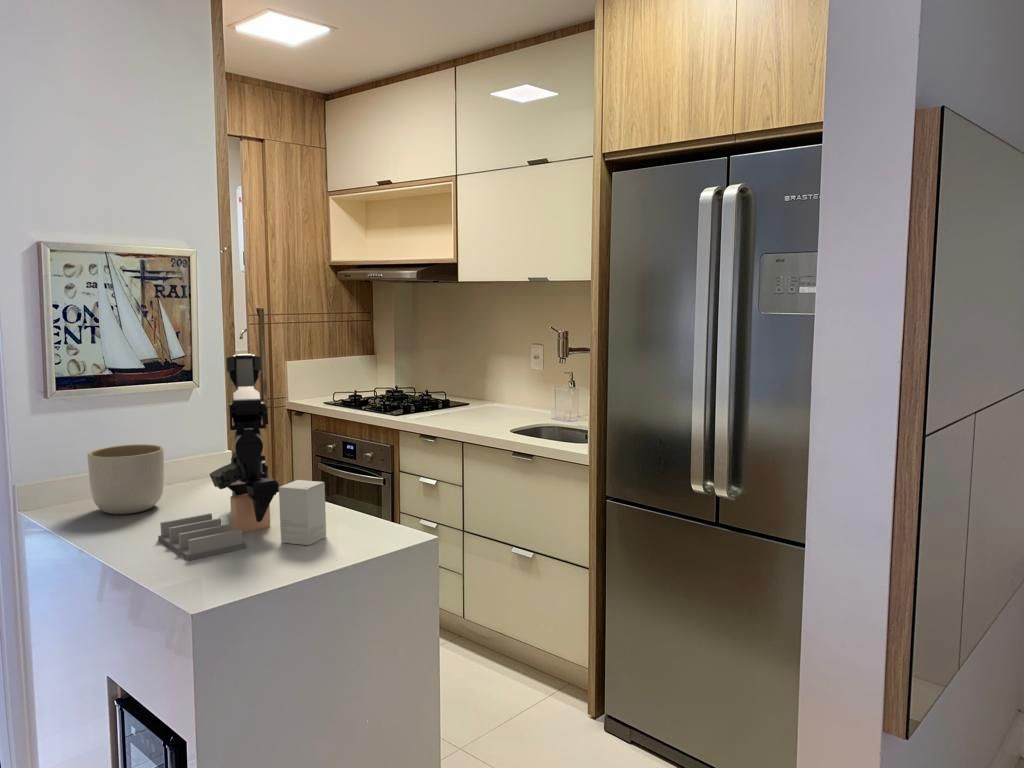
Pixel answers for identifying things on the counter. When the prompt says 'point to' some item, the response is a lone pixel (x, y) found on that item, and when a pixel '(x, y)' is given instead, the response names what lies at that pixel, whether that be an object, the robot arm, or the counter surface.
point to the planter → (126, 477)
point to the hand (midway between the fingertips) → (250, 517)
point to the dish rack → (200, 536)
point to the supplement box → (302, 512)
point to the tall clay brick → (246, 514)
